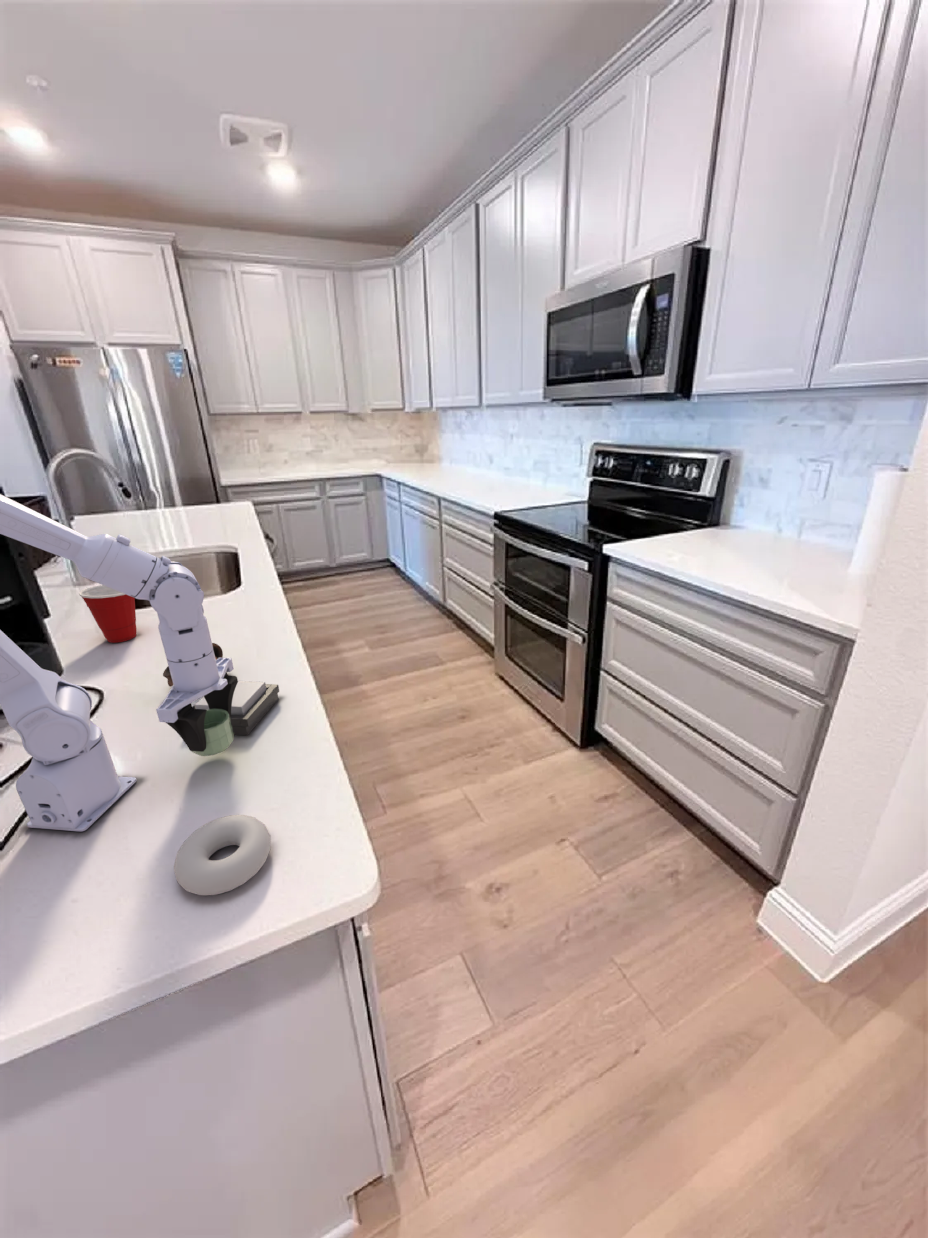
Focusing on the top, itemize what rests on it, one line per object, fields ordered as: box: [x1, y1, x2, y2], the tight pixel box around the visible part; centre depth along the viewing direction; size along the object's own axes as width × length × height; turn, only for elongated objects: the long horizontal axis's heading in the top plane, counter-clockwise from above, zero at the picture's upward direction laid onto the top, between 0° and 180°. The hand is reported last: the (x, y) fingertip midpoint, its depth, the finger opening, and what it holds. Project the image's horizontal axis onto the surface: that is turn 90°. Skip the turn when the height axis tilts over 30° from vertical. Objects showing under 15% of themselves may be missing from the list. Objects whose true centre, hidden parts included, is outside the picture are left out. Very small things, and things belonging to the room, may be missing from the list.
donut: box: [173, 814, 271, 896], centre depth 57 cm, size 10×4×10 cm
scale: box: [193, 683, 280, 736], centre depth 85 cm, size 11×11×3 cm
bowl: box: [191, 709, 235, 757], centre depth 74 cm, size 6×6×4 cm
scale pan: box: [194, 680, 267, 715], centre depth 85 cm, size 8×8×2 cm
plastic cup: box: [78, 584, 137, 644], centre depth 114 cm, size 11×11×12 cm
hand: (210, 736), depth 74 cm, fingers closed on bowl, 6 cm apart
